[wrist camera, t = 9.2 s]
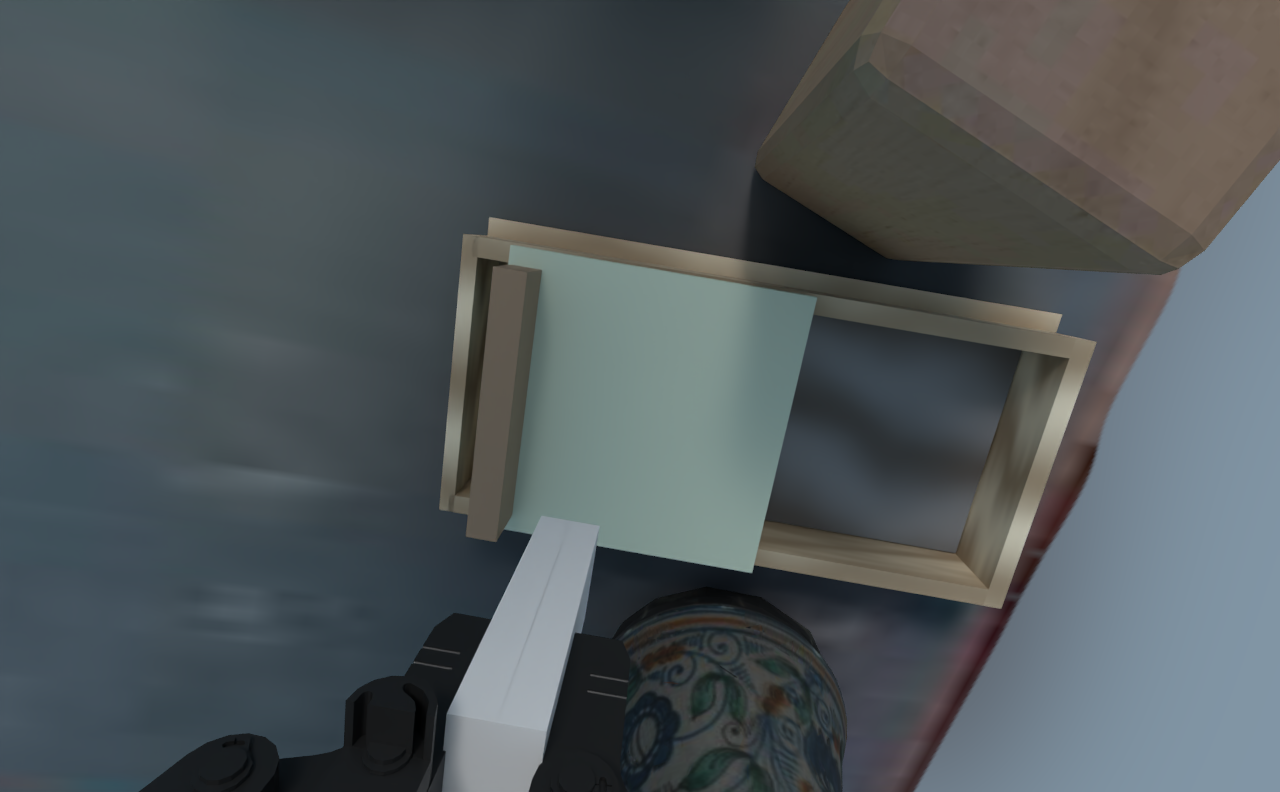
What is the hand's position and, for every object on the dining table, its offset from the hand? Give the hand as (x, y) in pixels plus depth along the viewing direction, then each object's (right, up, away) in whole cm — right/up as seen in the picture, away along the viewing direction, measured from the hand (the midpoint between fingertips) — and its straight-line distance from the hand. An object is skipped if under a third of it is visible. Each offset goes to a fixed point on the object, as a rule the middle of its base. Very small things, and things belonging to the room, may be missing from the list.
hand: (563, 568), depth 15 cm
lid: (+2, +3, +16) cm, 16 cm away
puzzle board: (+8, +4, +21) cm, 23 cm away
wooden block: (+15, +18, +17) cm, 29 cm away
